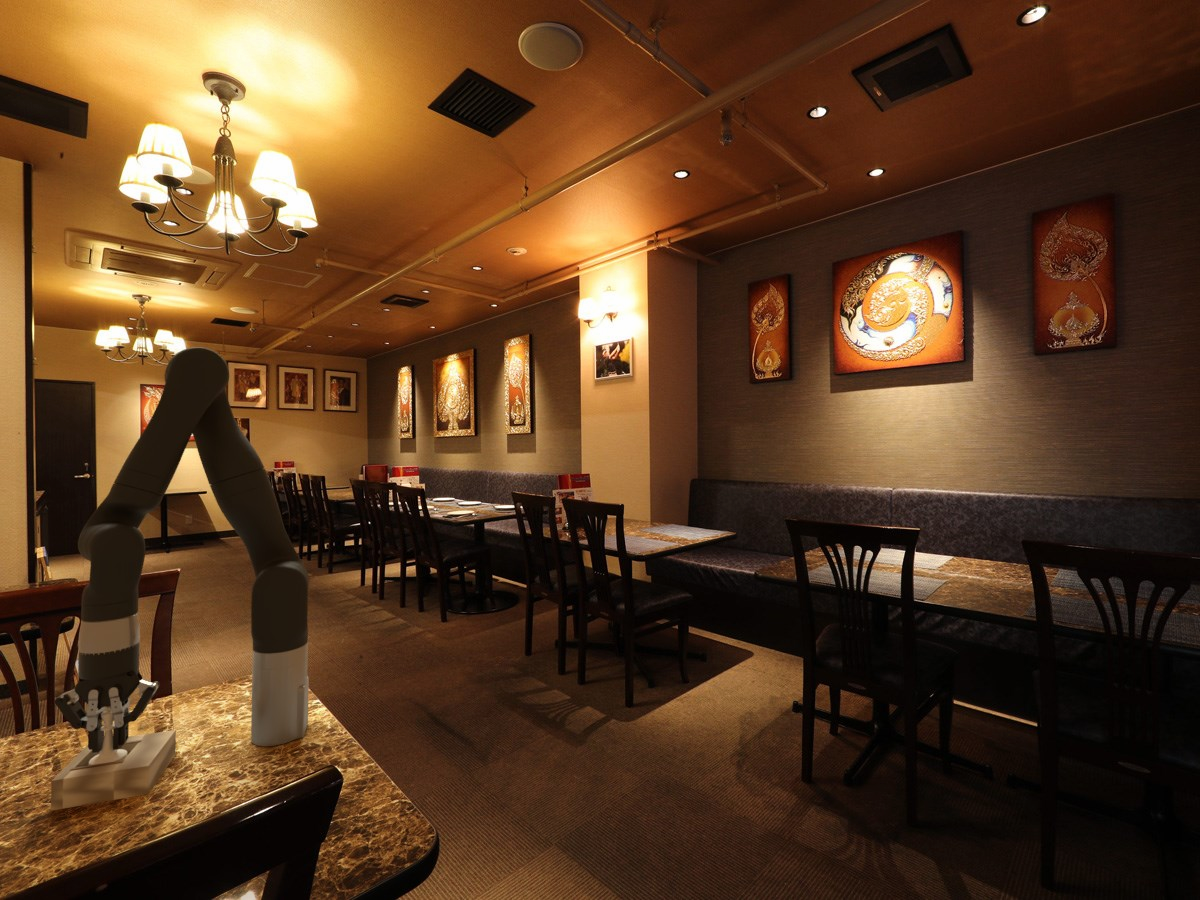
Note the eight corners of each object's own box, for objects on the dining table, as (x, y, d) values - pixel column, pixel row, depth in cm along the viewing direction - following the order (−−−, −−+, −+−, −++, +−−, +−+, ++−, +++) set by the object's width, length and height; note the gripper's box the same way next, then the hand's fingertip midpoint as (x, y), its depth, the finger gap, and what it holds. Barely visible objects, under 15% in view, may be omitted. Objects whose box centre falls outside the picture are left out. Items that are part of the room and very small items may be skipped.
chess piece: (103, 771, 88) (104, 708, 88) (79, 767, 89) (80, 705, 89) (135, 755, 93) (136, 695, 93) (112, 751, 94) (113, 692, 94)
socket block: (175, 755, 99) (175, 729, 99) (148, 794, 88) (148, 764, 88) (90, 767, 95) (91, 740, 95) (50, 810, 83) (51, 779, 83)
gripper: (169, 632, 97) (167, 731, 97) (68, 640, 92) (66, 745, 92) (152, 646, 90) (150, 752, 90) (42, 656, 85) (40, 769, 85)
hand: (108, 748), depth 91 cm, fingers closed on chess piece
